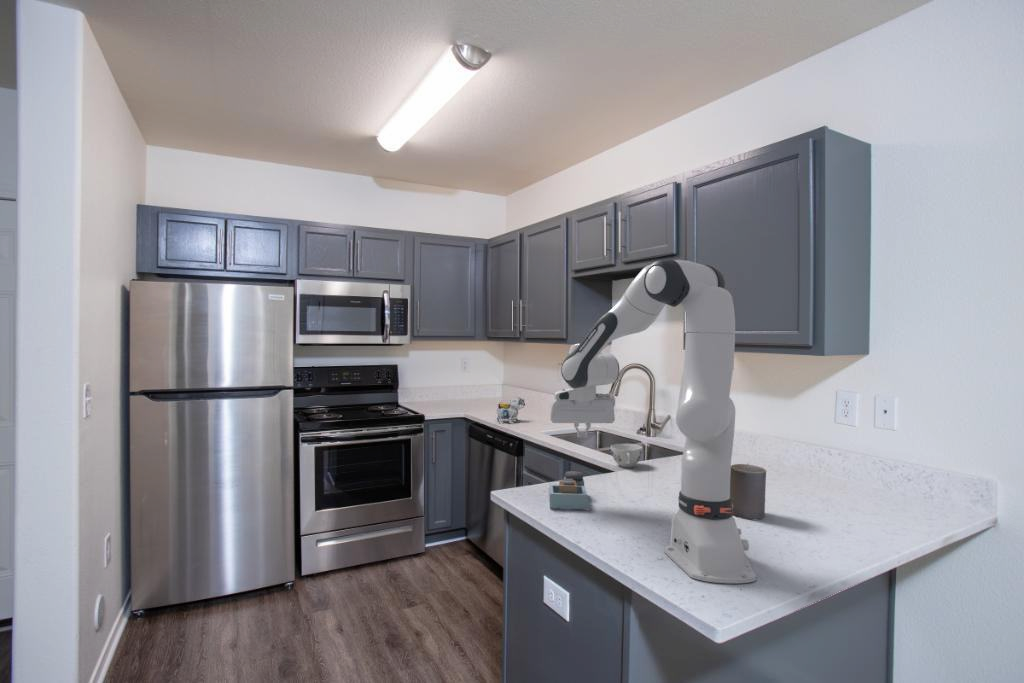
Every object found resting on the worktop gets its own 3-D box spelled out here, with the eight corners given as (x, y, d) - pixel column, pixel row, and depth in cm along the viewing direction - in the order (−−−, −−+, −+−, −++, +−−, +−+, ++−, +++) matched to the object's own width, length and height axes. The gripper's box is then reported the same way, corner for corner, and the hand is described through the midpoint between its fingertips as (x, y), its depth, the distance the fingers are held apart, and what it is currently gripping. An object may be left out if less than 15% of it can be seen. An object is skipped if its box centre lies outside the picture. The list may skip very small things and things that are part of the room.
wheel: (583, 492, 166) (583, 475, 166) (565, 492, 166) (565, 475, 166) (581, 487, 172) (582, 471, 172) (564, 486, 172) (564, 470, 172)
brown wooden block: (576, 502, 158) (577, 483, 158) (560, 502, 158) (560, 483, 158) (575, 496, 164) (575, 478, 164) (559, 496, 164) (559, 477, 164)
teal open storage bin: (590, 510, 156) (590, 491, 156) (549, 508, 156) (550, 490, 156) (585, 493, 172) (585, 477, 172) (548, 492, 172) (548, 476, 172)
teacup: (609, 461, 217) (609, 442, 217) (640, 462, 216) (640, 443, 215) (611, 470, 202) (612, 450, 202) (645, 472, 201) (645, 451, 200)
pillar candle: (721, 510, 158) (723, 460, 157) (746, 507, 161) (748, 458, 161) (746, 522, 149) (748, 469, 148) (772, 518, 152) (774, 466, 152)
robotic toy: (522, 425, 301) (523, 398, 301) (493, 423, 304) (493, 397, 304) (526, 421, 314) (526, 396, 314) (497, 420, 317) (498, 395, 317)
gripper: (613, 392, 169) (613, 435, 169) (550, 392, 170) (550, 435, 170) (616, 394, 163) (616, 439, 163) (550, 394, 164) (550, 438, 164)
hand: (582, 437), depth 167 cm, fingers closed
